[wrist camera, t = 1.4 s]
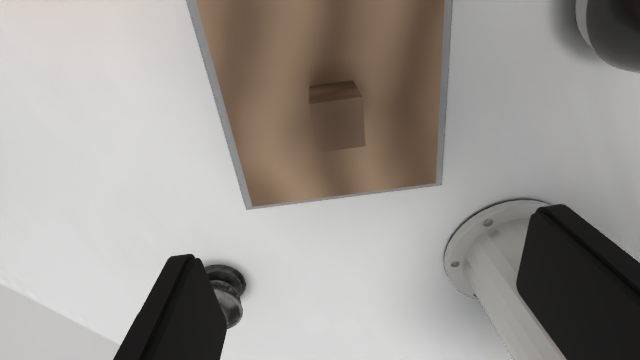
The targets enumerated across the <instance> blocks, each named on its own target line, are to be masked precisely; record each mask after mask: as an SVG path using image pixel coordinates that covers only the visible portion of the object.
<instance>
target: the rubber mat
mask: <svg viewBox="0 0 640 360" xmlns="http://www.w3.org/2000/svg"><path fill="white" fill-rule="evenodd" d="M186 2H187V5H188V9H189V12H190V16H191V19H192V22H193V26H194V29H195V33H196V36H197V40H198V43H199V47H200V50H201V54H202V57H203V61H204V64H205V68H206V71H207V75H208V78H209V82H210V85H211V89H212V92H213V96H214V99H215V103H216V106H217V110H218V113H219V117H220V120H221V124H222V127H223V131H224V134H225V137H226V141H227V144H228V148H229V151H230V155H231V158H232V162H233V165H234V169H235V172H236V176H237V179H238V183H239V186H240V190H241V193H242V197H243V200H244V204H245V207H246V210H250V209H258V208H265V207H273V206H281V205H289V204H297V203H305V202H313V201H321V200H328V199H336V198H344V197H352V196H360V195H368V194H376V193H383V192H391V191H399V190H407V189H415V188H423V187H431V186H439V185H442V172H443V155H444V138H445V122H446V105H447V88H448V71H449V54H450V37H451V20H452V3H453V0H445V3H444V24H443V44H442V65H441V85H440V106H439V126H438V147H437V167H436V183H435V184H427V185H419V186H411V187H404V188H396V189H388V190H380V191H372V192H364V193H356V194H349V195H341V196H333V197H325V198H317V199H309V200H301V201H294V202H286V203H278V204H270V205H262V206H254V207H252V203H251V199H250V196H249V192H248V188H247V185H246V181H245V177H244V174H243V170H242V167H241V163H240V159H239V156H238V152H237V148H236V145H235V141H234V137H233V134H232V130H231V126H230V123H229V119H228V116H227V112H226V108H225V105H224V101H223V97H222V94H221V90H220V86H219V83H218V79H217V75H216V72H215V68H214V64H213V61H212V57H211V54H210V50H209V46H208V43H207V39H206V35H205V32H204V28H203V24H202V21H201V17H200V13H199V10H198V6H197V3H196V0H186Z"/></svg>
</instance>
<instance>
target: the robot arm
mask: <svg viewBox="0 0 640 360" xmlns="http://www.w3.org/2000/svg"><path fill="white" fill-rule="evenodd" d="M444 265H445V271H446V273H447V275H448V278H449V279H450V281H451V283H452V284H453V286H454V287H455V288H456V289H457V290H458V291H459V292H461V293H463V294H464V295H466V296H469V297H471V298H474V299H478V300H479V302H480V303H481V305H482V307H483V309H484V310H485V312H486V314H487V315H488V317H489V319H490V321H491V322H492V324H493V326H494V328H495V329H496V331H497V333H498V335H499V336H500V338H501V340H502V341H503V343H504V345H505V347H506V348H507V350H508V352H509V354H510V355H511V357H512V359H513V360H640V263H639V262H638V261H637V260H635V259H634V258H633V257H631V256H630V255H629V254H628V253H626V252H625V251H624V250H622V249H621V248H620V247H619V246H617V245H616V244H615V243H613V242H612V241H611V240H610V239H608V238H607V237H606V236H605V235H603V234H602V233H601V232H599V231H598V230H597V229H596V228H594V227H593V226H592V225H590V224H589V223H588V222H587V221H585V220H584V219H583V218H582V217H580V216H579V215H578V214H576V213H575V212H574V211H573V210H571V209H570V208H569V207H567V206H566V205H562V204H559V205H549V204H546V203H544V202H539V201H535V200H516V201H508V202H505V203H501V204H498V205H495V206H492V207H490V208H488V209H485V210H483V211H481V212H480V213H478V214H476V215H475V216H473V217H472V218H470V219H469V220H468V221H467V222H466V223H464V224H463V225H462V226H461V227H460V228H459V229H458V231H457V232H456V233H455V234H454V235H453V237H452V239H451V240H450V242H449V244H448V246H447V249H446V251H445V257H444ZM226 331H227V322H226V318H225V316H224V313H223V311H222V309H221V306H220V304H219V302H218V299H217V297H216V294H215V292H214V290H213V287H212V285H211V283H210V280H209V278H208V275H207V273H206V271H205V268H204V266H203V264H202V261H201V260H200V259H199V258H195V257H194V255H192V254H186V255H178V256H171V257H170V258H169V259H168V260H167V262H166V264H165V266H164V268H163V269H162V271H161V273H160V275H159V277H158V279H157V281H156V283H155V284H154V286H153V288H152V290H151V292H150V294H149V296H148V297H147V299H146V301H145V303H144V305H143V307H142V309H141V311H140V312H139V314H138V315H137V316H136V318H135V320H134V322H133V324H132V326H131V327H130V329H129V331H128V333H127V335H126V337H125V339H124V340H123V342H122V344H121V346H120V348H119V350H118V352H117V354H116V355H115V357H114V359H113V360H220V356H221V352H222V348H223V344H224V340H225V336H226Z"/></svg>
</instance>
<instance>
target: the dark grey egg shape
mask: <svg viewBox="0 0 640 360" xmlns="http://www.w3.org/2000/svg"><path fill="white" fill-rule="evenodd" d="M576 20H577V25H578V28H579V31H580V33H581V35H582V37H583V38H584V40H585V41H586V42H587V44H588V45H589V46H590V47H591V48H592V49H593V50H594V51H595V52H596V53H597V55H598V56H599V57H600V58H601V59H602V60H603V61H605V62H606V63H608V64H609V65H611V66H613V67H615V68H618V69H621V70H625V71H630V72H635V73H640V0H576Z"/></svg>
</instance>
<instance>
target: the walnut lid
mask: <svg viewBox="0 0 640 360" xmlns="http://www.w3.org/2000/svg"><path fill="white" fill-rule="evenodd" d="M196 3H197V6H198V10H199V13H200V17H201V21H202V24H203V28H204V32H205V35H206V39H207V43H208V46H209V50H210V54H211V57H212V61H213V64H214V68H215V72H216V75H217V79H218V83H219V86H220V90H221V94H222V97H223V101H224V105H225V108H226V112H227V116H228V119H229V123H230V126H231V130H232V134H233V137H234V141H235V145H236V148H237V152H238V156H239V159H240V163H241V167H242V170H243V174H244V177H245V181H246V185H247V188H248V192H249V196H250V199H251V203H252V207H254V206H262V205H270V204H278V203H286V202H294V201H301V200H309V199H317V198H325V197H333V196H341V195H349V194H356V193H364V192H372V191H380V190H388V189H396V188H404V187H411V186H419V185H427V184H435V183H436V167H437V147H438V126H439V106H440V85H441V65H442V44H443V24H444V3H445V0H196Z"/></svg>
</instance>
